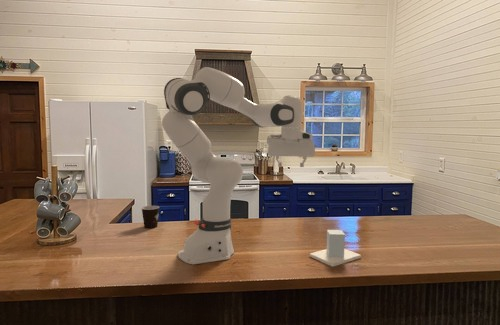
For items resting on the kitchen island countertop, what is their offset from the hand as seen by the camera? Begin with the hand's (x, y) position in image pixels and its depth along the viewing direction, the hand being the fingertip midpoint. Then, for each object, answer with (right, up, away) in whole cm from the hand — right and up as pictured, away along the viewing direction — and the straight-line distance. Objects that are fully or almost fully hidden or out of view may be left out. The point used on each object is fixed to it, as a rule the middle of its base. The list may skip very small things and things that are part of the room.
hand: (290, 166), depth 147 cm
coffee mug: (-67, -31, +28) cm, 79 cm away
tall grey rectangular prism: (+16, -34, -12) cm, 40 cm away
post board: (+16, -36, -12) cm, 41 cm away
